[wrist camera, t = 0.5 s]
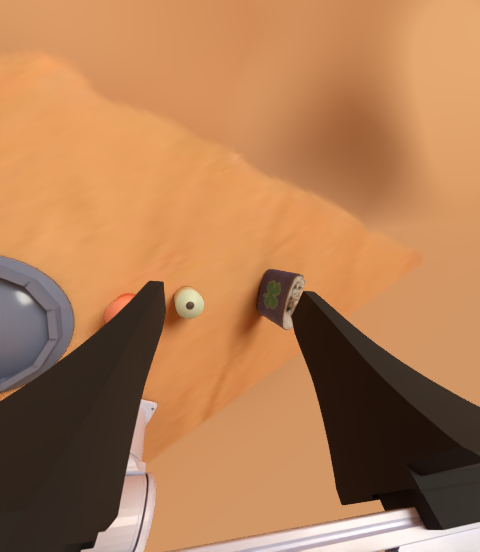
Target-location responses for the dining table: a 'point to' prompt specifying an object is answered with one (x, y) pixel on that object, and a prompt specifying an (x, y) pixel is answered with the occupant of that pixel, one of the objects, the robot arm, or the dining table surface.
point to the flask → (279, 296)
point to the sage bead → (188, 302)
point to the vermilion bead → (117, 306)
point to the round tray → (30, 323)
